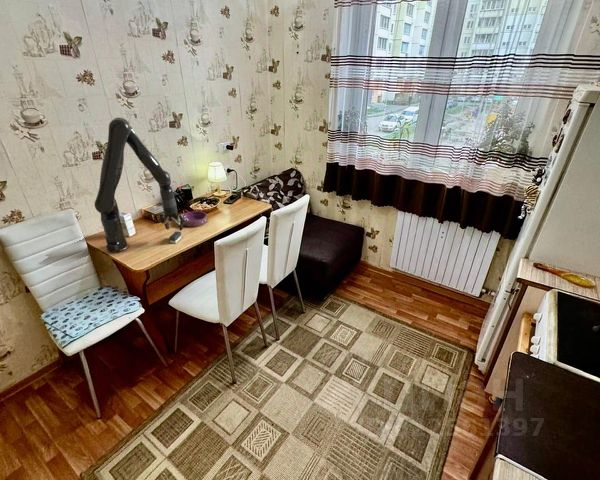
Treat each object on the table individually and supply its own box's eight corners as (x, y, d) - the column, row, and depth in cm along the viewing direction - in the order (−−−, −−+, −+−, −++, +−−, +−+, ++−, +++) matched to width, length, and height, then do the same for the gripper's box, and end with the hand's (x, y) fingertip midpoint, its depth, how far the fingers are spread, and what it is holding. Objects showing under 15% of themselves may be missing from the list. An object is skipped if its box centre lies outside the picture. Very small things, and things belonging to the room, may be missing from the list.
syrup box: (136, 233, 198) (130, 212, 191) (129, 237, 193) (123, 216, 186) (129, 231, 199) (123, 211, 193) (122, 235, 194) (115, 215, 188)
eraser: (175, 243, 187) (174, 237, 186) (170, 242, 188) (169, 237, 186) (181, 237, 194) (180, 231, 192) (176, 236, 195) (175, 231, 193)
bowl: (201, 228, 206) (200, 222, 204) (177, 226, 208) (176, 220, 206) (211, 217, 221) (210, 212, 219) (188, 216, 223) (187, 210, 221)
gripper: (154, 206, 177) (160, 231, 185) (177, 208, 176) (182, 233, 184) (161, 202, 184) (166, 226, 192) (183, 203, 182) (188, 227, 190)
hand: (174, 229), depth 188 cm, fingers open, 8 cm apart
